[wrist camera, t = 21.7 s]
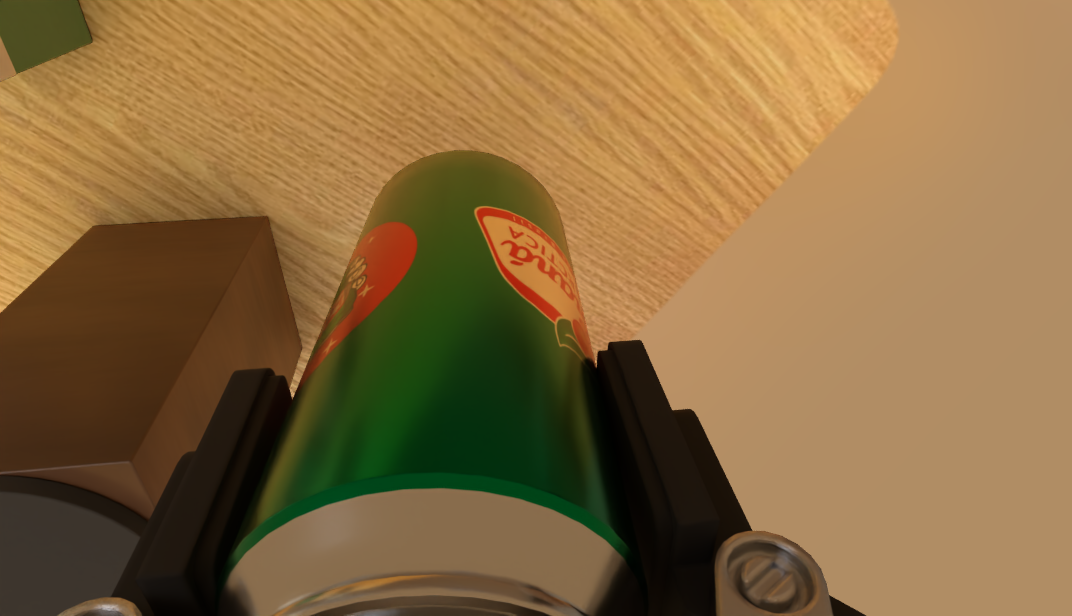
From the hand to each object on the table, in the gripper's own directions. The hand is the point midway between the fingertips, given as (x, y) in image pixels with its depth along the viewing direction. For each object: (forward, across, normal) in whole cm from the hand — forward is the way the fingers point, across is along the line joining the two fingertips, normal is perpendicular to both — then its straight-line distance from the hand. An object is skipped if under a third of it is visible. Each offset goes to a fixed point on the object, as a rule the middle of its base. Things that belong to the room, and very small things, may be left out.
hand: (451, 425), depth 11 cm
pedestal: (+21, +13, +9) cm, 26 cm away
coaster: (+5, +13, +9) cm, 17 cm away
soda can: (+7, 0, 0) cm, 7 cm away
